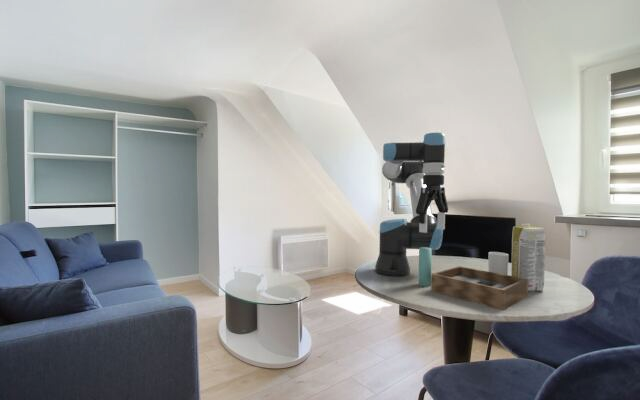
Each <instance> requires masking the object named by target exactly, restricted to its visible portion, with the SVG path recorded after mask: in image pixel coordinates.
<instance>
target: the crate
mask: <svg viewBox="0 0 640 400" xmlns="http://www.w3.org/2000/svg"><path fill="white" fill-rule="evenodd" d="M430 289H431V292H435V293H439V294H441V295H442V294H443V295H447V296H451V297H454V298H459V299H461V300H465V301H468V302H473V303H477V304H480V305H484V306H487V307H490V308H495V309H498V310H502V311H504V310H506V309H508V308H510V307H512V306H513V304H514V305H515V304H517V303H520V302H521V301H523V300H524V299H526V298H528V295H529V293H528V292H529V291H528V279H524V278H519V277H514V276H511V275H509V274H508V275H503V274H498V273H493V272H488V271H486V270H482V269H476V268H471V267H465V266H462V265H461V266H460V265H459V266H455V267H452V268H451V267H450V268H448V269H444V270H441V271H437V272H433V273H431V286H430Z"/></svg>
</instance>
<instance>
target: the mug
mask: <svg viewBox="0 0 640 400" xmlns="http://www.w3.org/2000/svg"><path fill="white" fill-rule="evenodd" d="M487 255H488V258H487V259H488V271H487V272H493V273H498V274H503V275H509V254H508V253H505V252H499V251H489V252H488V254H487Z"/></svg>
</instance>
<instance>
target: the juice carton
mask: <svg viewBox="0 0 640 400" xmlns="http://www.w3.org/2000/svg"><path fill="white" fill-rule="evenodd" d="M545 230H546V229H545V228H544V227H539V226H531V224H530V223H521V226H513V227H512V235H511V236H512V237H511V268H510V269H511V271H510V273H511V275H510V276H514V277H519V278H524V279H528V292H543V291H544V286H545V270H546V269H545V266H546V265H545V261H546V231H545Z"/></svg>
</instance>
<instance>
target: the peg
mask: <svg viewBox="0 0 640 400" xmlns="http://www.w3.org/2000/svg"><path fill="white" fill-rule="evenodd" d="M431 277H432V248H427V247H420V248H419V249H418V286H421V287H427V288H428V287H431Z"/></svg>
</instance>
